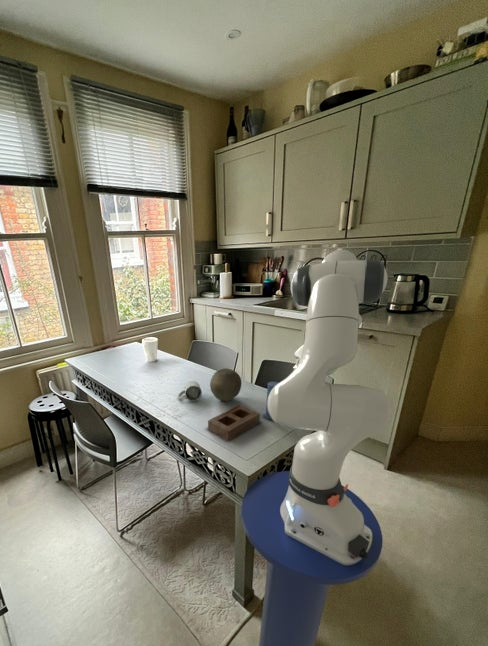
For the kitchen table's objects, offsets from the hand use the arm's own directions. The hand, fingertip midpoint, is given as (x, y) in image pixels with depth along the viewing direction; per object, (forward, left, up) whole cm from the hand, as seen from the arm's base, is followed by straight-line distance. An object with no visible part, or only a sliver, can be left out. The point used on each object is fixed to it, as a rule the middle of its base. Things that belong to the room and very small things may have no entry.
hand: (302, 373), depth 125 cm
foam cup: (+96, +8, -17) cm, 98 cm away
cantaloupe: (+28, +14, -17) cm, 36 cm away
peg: (+5, +12, -17) cm, 21 cm away
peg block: (+11, +27, -17) cm, 34 cm away
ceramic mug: (+41, +24, -17) cm, 51 cm away
